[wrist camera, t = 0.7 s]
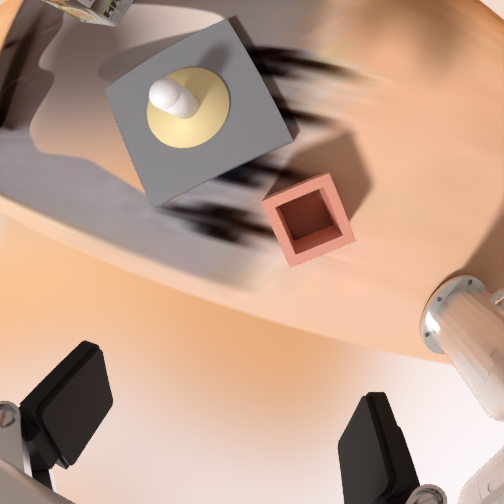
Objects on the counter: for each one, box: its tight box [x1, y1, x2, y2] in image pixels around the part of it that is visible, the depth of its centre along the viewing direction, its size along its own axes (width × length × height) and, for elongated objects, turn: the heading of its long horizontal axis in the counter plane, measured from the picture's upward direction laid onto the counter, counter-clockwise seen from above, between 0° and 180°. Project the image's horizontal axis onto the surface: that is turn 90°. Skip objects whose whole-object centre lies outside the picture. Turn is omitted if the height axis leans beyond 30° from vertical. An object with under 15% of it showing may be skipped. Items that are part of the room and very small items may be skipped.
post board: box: [105, 19, 293, 208], centre depth 26 cm, size 18×18×9 cm
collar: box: [261, 173, 356, 268], centre depth 30 cm, size 7×7×6 cm
